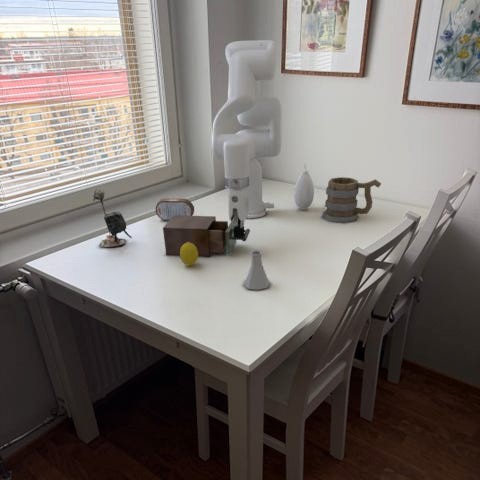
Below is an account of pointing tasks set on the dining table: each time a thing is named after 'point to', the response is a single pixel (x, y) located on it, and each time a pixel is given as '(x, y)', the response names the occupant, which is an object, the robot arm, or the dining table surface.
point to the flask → (256, 273)
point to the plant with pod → (112, 224)
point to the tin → (173, 208)
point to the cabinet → (187, 234)
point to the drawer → (223, 237)
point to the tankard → (346, 199)
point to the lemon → (189, 254)
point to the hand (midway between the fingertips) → (239, 238)
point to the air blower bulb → (304, 190)
